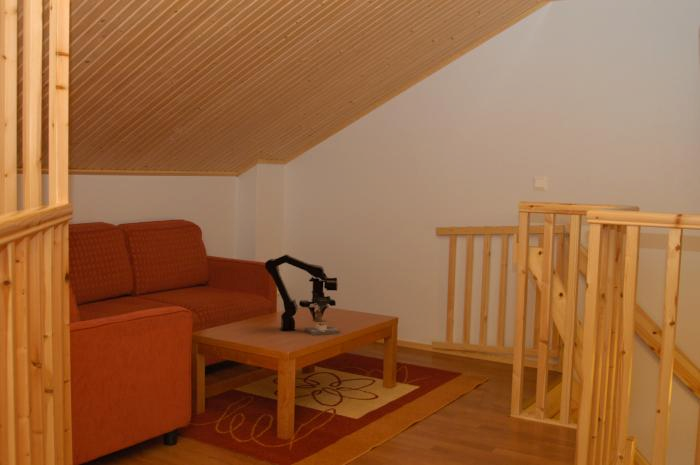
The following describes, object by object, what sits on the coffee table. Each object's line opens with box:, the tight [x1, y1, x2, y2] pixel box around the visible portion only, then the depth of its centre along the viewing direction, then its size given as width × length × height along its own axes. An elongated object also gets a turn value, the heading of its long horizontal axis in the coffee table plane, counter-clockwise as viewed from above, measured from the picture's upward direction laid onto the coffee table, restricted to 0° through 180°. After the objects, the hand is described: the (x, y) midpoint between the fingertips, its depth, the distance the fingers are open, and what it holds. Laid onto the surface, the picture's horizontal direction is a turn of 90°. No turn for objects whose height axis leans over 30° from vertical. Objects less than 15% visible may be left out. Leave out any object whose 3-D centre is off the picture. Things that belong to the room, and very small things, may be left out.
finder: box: [315, 322, 328, 331], centre depth 409 cm, size 4×5×3 cm
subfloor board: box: [304, 325, 341, 336], centre depth 413 cm, size 15×12×2 cm
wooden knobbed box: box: [312, 309, 323, 323], centre depth 415 cm, size 4×4×6 cm
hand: (317, 319), depth 415 cm, fingers closed on wooden knobbed box, 4 cm apart
